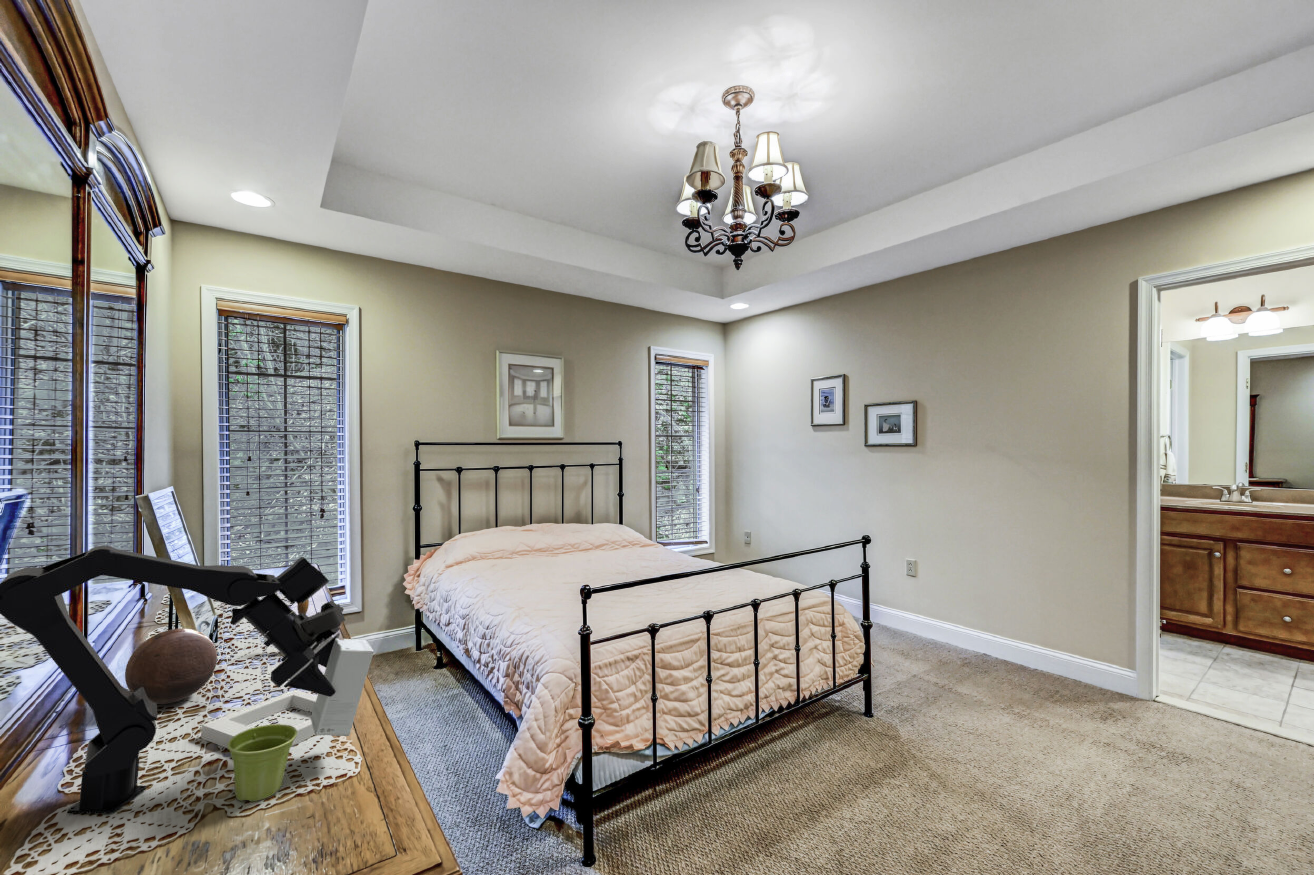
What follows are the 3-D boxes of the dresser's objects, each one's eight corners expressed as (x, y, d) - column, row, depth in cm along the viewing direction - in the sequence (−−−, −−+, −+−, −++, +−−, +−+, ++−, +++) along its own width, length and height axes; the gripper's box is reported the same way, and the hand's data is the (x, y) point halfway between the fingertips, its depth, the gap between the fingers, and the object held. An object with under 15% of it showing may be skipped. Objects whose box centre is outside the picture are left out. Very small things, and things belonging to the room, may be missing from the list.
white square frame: (260, 760, 102) (262, 746, 102) (200, 738, 108) (201, 724, 108) (351, 718, 119) (351, 706, 119) (294, 701, 125) (295, 689, 125)
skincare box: (349, 737, 102) (377, 652, 104) (311, 736, 98) (341, 649, 101) (342, 718, 109) (369, 638, 111) (307, 717, 105) (335, 635, 108)
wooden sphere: (229, 696, 126) (234, 627, 126) (145, 723, 112) (151, 646, 113) (190, 681, 132) (195, 616, 133) (107, 705, 118) (113, 633, 119)
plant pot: (281, 768, 100) (285, 718, 100) (302, 791, 94) (306, 737, 94) (215, 791, 92) (220, 736, 93) (233, 817, 86) (237, 759, 87)
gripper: (299, 605, 95) (365, 670, 97) (332, 580, 113) (387, 636, 115) (239, 653, 93) (309, 719, 95) (283, 620, 111) (340, 676, 113)
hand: (340, 683), depth 105 cm, fingers closed on skincare box, 9 cm apart
